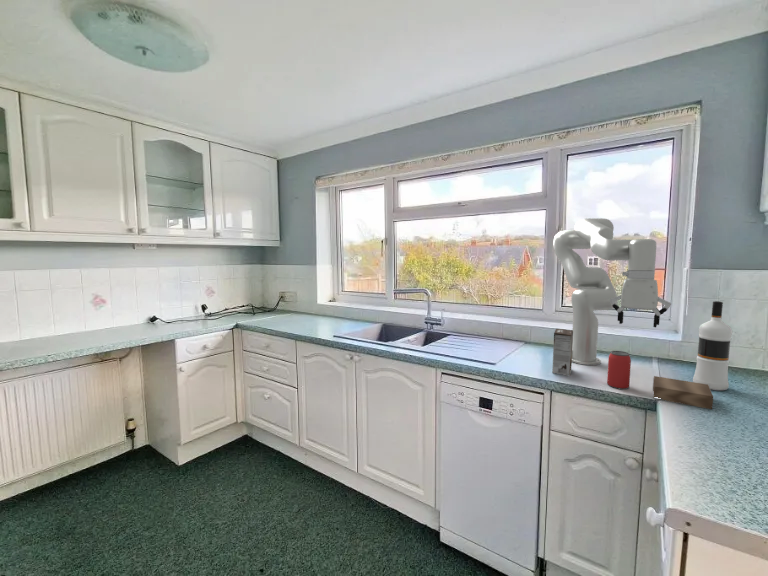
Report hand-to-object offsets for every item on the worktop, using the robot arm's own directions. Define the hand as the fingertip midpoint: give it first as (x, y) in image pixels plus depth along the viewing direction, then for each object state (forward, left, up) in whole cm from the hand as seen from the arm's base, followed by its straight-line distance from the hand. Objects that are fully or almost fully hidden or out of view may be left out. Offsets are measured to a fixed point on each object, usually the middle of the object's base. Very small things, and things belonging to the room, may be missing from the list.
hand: (637, 325), depth 124 cm
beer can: (-4, -3, -22) cm, 23 cm away
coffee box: (-23, +3, -22) cm, 32 cm away
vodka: (+22, +15, -22) cm, 34 cm away
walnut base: (+13, -3, -22) cm, 25 cm away
